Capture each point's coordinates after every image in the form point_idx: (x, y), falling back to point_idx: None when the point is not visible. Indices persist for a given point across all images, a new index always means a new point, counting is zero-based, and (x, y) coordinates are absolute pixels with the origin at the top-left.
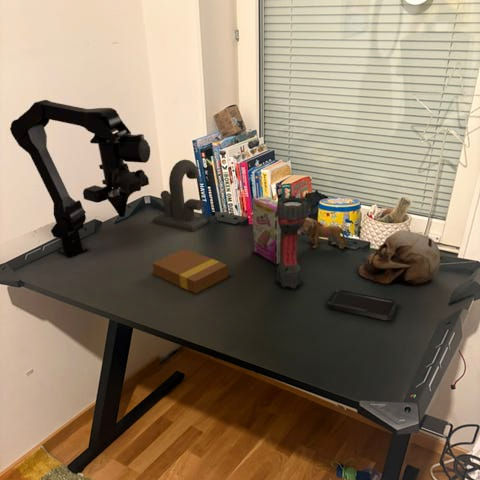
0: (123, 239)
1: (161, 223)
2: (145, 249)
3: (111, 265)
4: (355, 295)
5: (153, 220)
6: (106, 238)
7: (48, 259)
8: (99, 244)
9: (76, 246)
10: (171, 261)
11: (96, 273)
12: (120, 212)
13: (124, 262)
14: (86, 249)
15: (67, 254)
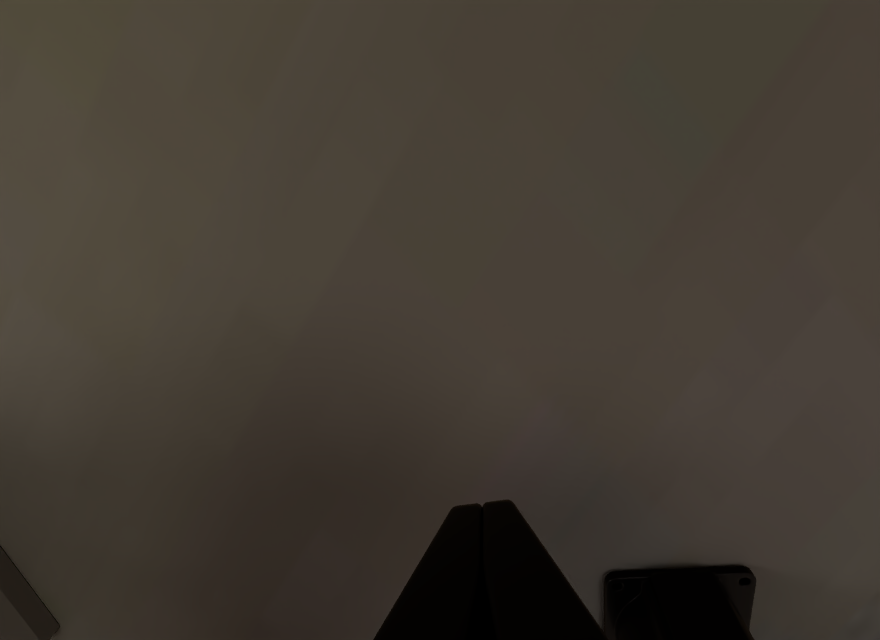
0: (338, 554)
1: (15, 577)
2: (295, 318)
3: (646, 262)
4: None
5: (46, 636)
6: None
7: (843, 625)
8: None
9: (714, 612)
10: None
11: (816, 222)
12: (564, 578)
13: (544, 234)
14: (618, 578)
15: (747, 597)
